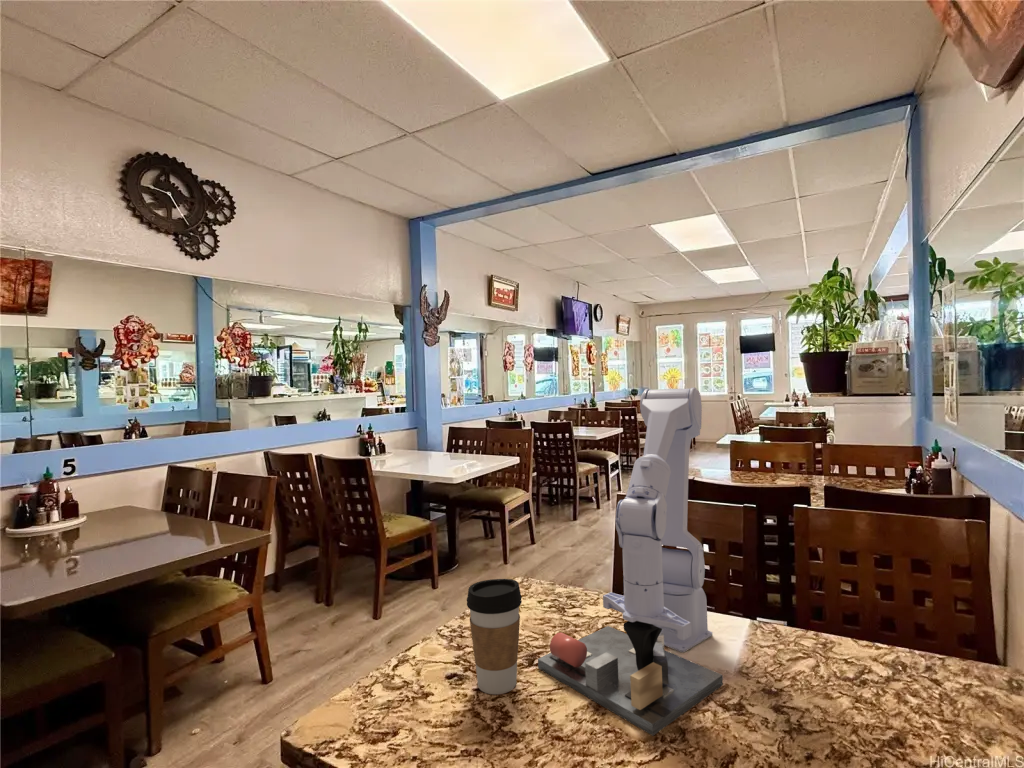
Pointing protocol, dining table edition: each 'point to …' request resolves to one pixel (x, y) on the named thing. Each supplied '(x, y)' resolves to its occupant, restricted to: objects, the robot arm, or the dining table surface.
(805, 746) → the dining table surface
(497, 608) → the coffee cup
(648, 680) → the paddle
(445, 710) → the dining table surface
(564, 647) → the red short cylinder
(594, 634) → the panel
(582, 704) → the dining table surface
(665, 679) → the lever
